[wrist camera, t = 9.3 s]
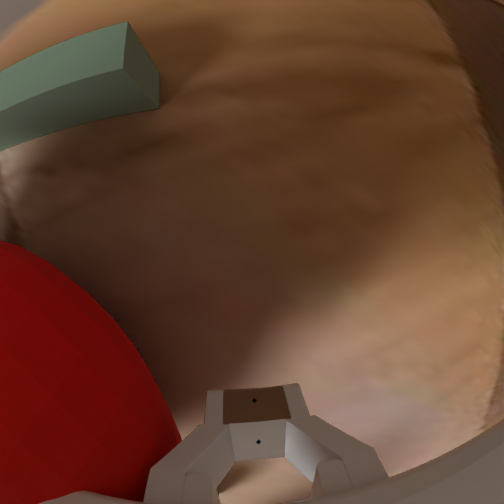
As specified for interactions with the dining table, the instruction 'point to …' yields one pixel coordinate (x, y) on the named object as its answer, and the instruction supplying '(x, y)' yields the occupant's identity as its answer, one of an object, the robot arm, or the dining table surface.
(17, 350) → the tomato
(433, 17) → the dining table surface
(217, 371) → the dining table surface
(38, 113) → the corral
